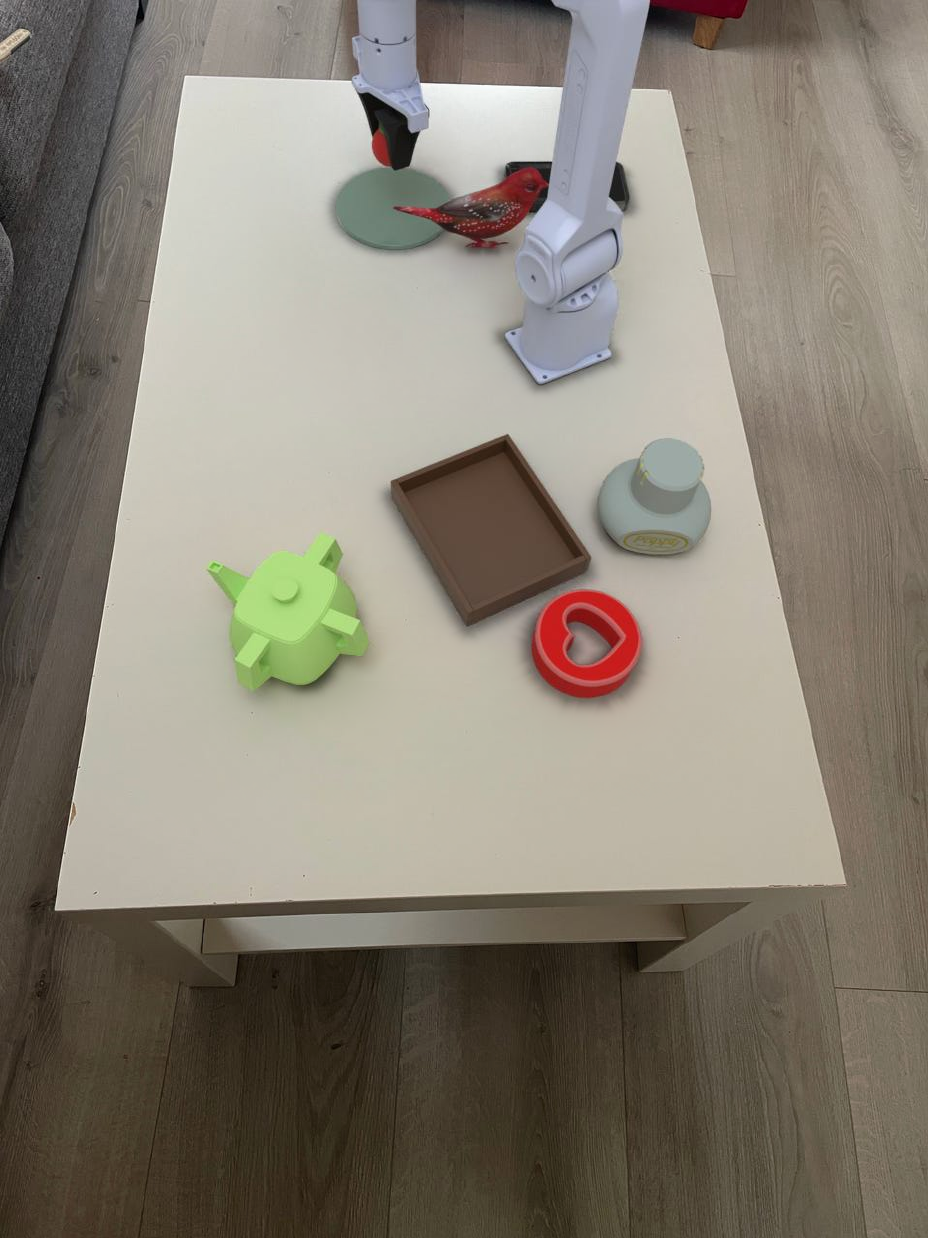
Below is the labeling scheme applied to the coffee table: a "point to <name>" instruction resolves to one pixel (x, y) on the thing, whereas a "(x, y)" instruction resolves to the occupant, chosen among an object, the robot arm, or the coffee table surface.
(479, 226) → the decorative bird figurine
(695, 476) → the air freshener
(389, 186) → the plate
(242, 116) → the coffee table surface
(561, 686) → the decorative ornament
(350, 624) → the teapot
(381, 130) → the strawberry
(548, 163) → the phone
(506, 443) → the tray
